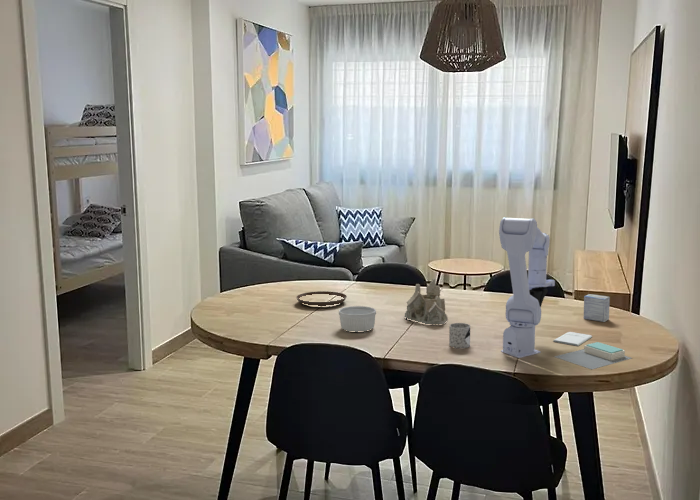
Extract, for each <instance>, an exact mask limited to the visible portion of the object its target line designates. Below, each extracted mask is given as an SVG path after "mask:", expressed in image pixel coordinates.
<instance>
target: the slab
mask: <svg viewBox="0 0 700 500" xmlns="http://www.w3.org/2000/svg"><path fill="white" fill-rule="evenodd" d="M583 346H584V347H583V349H584V352H586V353H589V354H592V355H595V356H599V357H602V358H605V359H608V360H615V359H619V358H622V357H625V356H626V355H625V354H626V351H625V350H624V349H623V348H620V347H615V346H614V345H613V346H612V345H609V344H606V343H602V342H598V341H597V342H592V343H588V344H585V345H583Z"/></svg>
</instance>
